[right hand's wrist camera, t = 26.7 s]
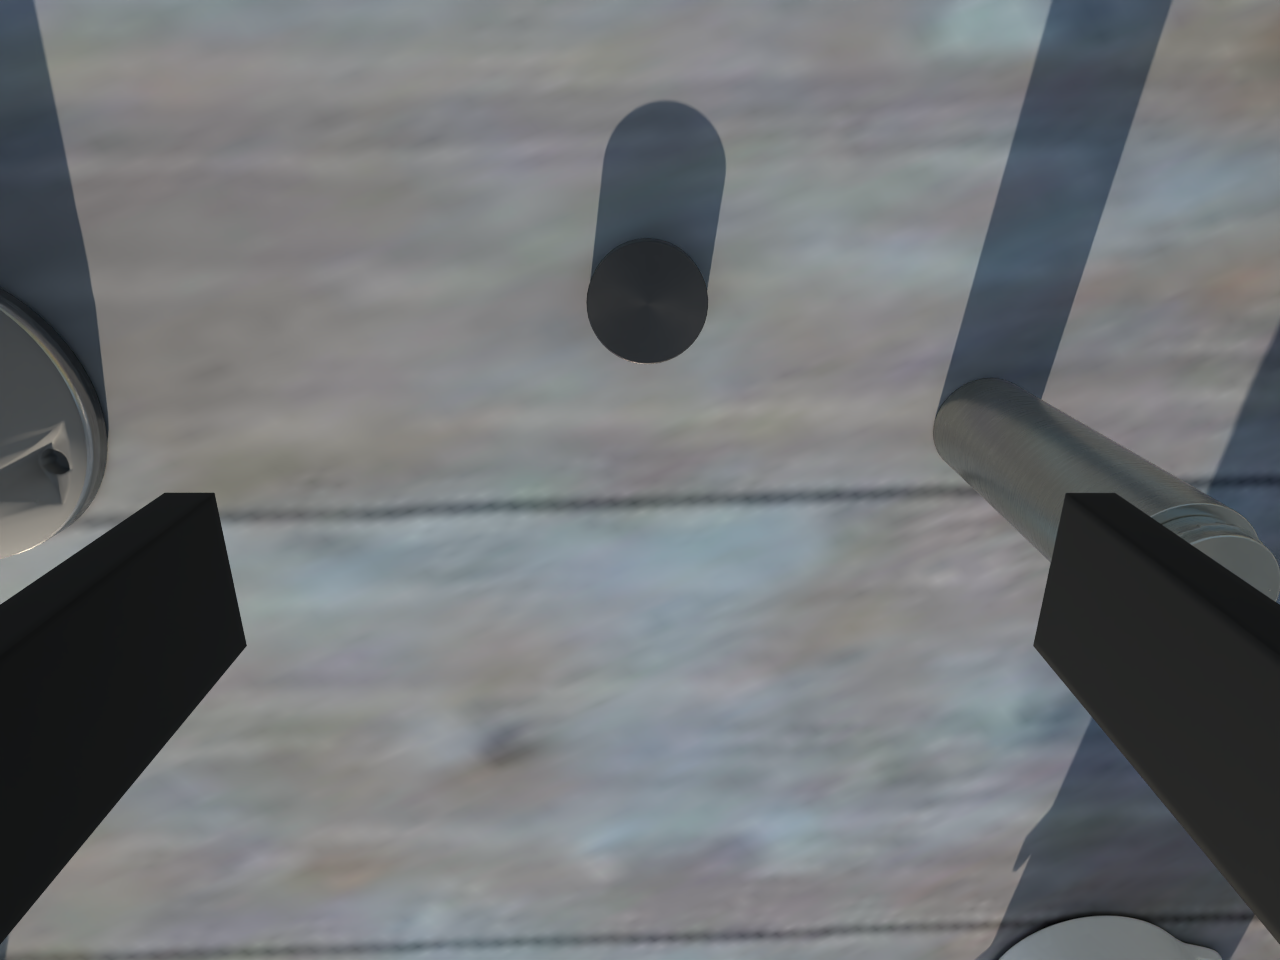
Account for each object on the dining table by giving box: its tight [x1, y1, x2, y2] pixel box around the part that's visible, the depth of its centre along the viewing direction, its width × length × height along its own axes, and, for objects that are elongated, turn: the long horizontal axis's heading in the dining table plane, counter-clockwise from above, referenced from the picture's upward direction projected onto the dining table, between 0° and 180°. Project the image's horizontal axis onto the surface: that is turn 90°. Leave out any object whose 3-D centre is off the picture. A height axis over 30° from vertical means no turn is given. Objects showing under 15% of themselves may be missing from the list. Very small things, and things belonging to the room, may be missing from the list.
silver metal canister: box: [933, 378, 1280, 602], centre depth 33 cm, size 5×5×18 cm
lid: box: [587, 238, 708, 364], centre depth 38 cm, size 6×6×2 cm
